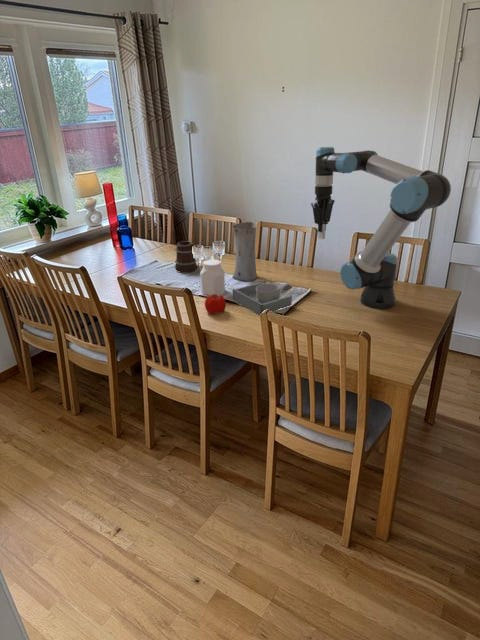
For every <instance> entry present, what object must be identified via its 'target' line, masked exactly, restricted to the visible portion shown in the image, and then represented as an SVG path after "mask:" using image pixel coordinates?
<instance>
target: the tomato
mask: <svg viewBox="0 0 480 640" xmlns="http://www.w3.org/2000/svg"><path fill="white" fill-rule="evenodd" d="M226 306H227V301H226V299H225V297H224V295H223V294H222V295H219V296H218V295H216V294H212V295H208V296H207V297H206V298H205V300H204V309H206V311H207V312H208V313H209V314H210V315H211V314H212V315H216V314H221V313H224V312H225V310H226Z"/></svg>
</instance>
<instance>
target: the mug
mask: <svg viewBox="0 0 480 640" xmlns="http://www.w3.org/2000/svg"><path fill="white" fill-rule="evenodd" d="M194 245H195V244H194V243H193V242H192V241H188V240H184V241H183V240H182V241H179V242H177V243H176V248H175V249H174V251H175V252H176V258H175V261H174V262H175V266H174V268H175V269H176V270H177V271H180V272H179V273H182V272H188V273H193V272H196V271H197V270H198V264H197V263H196V262H197V259H196V258H195V259H196V260H195V259H194V258H193V254H192V246H194ZM175 269H174V270H175ZM176 270H175V271H176ZM195 270H196V271H195ZM177 271H176V272H177ZM192 271H193V272H192Z"/></svg>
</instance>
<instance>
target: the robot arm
mask: <svg viewBox="0 0 480 640" xmlns="http://www.w3.org/2000/svg"><path fill="white" fill-rule="evenodd" d="M358 171H362V172H366V173H368V174H371V175H373V176H375V177H378V178H380V179H383V180H385V181H388V182H390V183H393V184H395V185H394V186H393V188H392V190H391V192H390V199H389V200H390V203H389V208H390V209H389V212H388V213H387V214H386V216H385V218H384V219H383V221H382V222H381V223H380V225H379V226H378V228H377V229H376V231H375V232H374V234H373V235H372V236H371V238H370V239H369V241H368V242H367V244H366V245H365V247H364V248H363V249H362V251H358V252H357V253H356V254H355V255H354V256H353V258H352V259H351V261H349V262H345V263H343V264H342V265H341V268H340V273H339V274H340V279H341V282H342V283H343V285H345V287H346V288H348V289H349V290H351V291H352V290H353V291H354V290H360V289H362V288H364V289H363V291H362V293H361V294H360V303H361V305H364V306H365V307H368V308H372V309H379V310H382V309H391V308H394V306H395V305H396V295H395V289H394V285H395V279H396V273H397V266H398V257H397V255H396V254H394V253H391V252H390V251H391V250H392V248H393V247H394V245H395V244H396V242H398V240H399V239H400V238H401V236H403V234H404V232H405V231H406V230H407V228H408V226H409V225H410V224H411V223H414V222H417V221H419V219H420V218H421V217H422V215H423V214H424V213H425V211H426V210H430V209H435V208H437V207H441V206H442V205H443V204H445V202H447V201H448V199H449V197H450V195H451V191H452V190H451V189H452V185H451V182H450V181H449V178H447V177H446V176H445V175H444V174H440V173H438V172H435V171H432V170H429V169H428V170H427V169H426V170H424V171H422V170H420V169H417V168H416V167H415V168H414V167H412V166H409V165H407V164H403V163H400V162H397V161H394V160H391V159H389V158H386V157H382V155H381V156H380V155H379V154H378V153H377V152H376V151H375V150H362V151H353V152H350V151H349V152H335V147H333V146H320V147H318V148H316V155H315V177H314V178H315V179H314V180H315V182H314V183H315V186H314V195H315V200H314V202H312V203H311V204H310V206H311V207H312V211H313V212H312V213H313V220H314V224H316V225H317V232H318V234H317V235H318V236H317V237H318V238H317V239H321V240H325V239H326V230H327V225H328V224H329V222H331V221H330V220H331V216H332V211H333V207H334V204H335V201H336V200H335V199H332V194H333V184H334V173H340V174H350V173H353V172H358Z"/></svg>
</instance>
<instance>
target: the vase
mask: <svg viewBox="0 0 480 640" xmlns="http://www.w3.org/2000/svg"><path fill="white" fill-rule="evenodd" d="M232 229H233V235H234V241H235V243H234V244H235V267H234V271H233V274H232V279H234V280H237V281H241V282H252V281H255V280H257V279H258V273H257V267H256V266H257V265H256V264H257V263H256V235H257V234H256V233H257V226H256V225H255V223H253V222H250V221H246V222H239V223H236V224H234V225H232Z"/></svg>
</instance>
